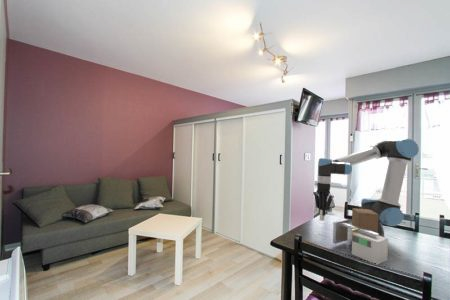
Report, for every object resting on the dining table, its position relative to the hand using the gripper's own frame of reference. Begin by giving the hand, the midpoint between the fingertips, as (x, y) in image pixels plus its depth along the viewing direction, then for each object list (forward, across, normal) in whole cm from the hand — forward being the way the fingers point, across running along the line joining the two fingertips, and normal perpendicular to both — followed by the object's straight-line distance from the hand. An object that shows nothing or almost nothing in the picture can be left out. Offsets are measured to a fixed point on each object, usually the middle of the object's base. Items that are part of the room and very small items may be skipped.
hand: (321, 220), depth 131 cm
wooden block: (+11, +18, +14) cm, 25 cm away
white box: (+11, +27, 0) cm, 29 cm away
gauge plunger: (+9, +21, 0) cm, 23 cm away
